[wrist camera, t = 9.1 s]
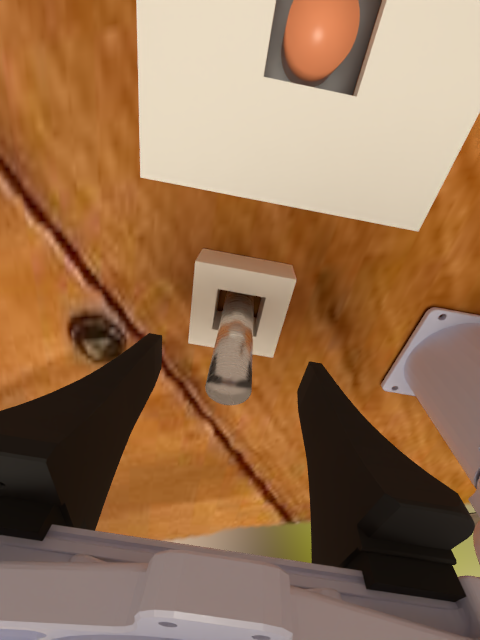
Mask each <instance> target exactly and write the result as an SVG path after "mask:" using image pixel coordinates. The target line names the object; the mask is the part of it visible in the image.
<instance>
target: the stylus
mask: <svg viewBox="0 0 480 640" xmlns="http://www.w3.org/2000/svg"><path fill="white" fill-rule="evenodd" d="M253 317H254V295H248V294H243V293H237V292H232V291H227V294H226V298H225V303H224V307H223V312H222V316H221V320H220V325H219V329H218V333H217V338H216V342H215V347H214V351H213V355H212V360H211V364H210V369H209V373H208V377H207V382H206V392H207V394H208V396H209V397H210V398H211V399H213V400H214V401H216V402H218V403H220V404H224V405H237V404H240V403H242V402H244V401H246V400H247V399H248V398H249V396H250V394H251V385H252V351H253Z"/></svg>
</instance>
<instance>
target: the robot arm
mask: <svg viewBox="0 0 480 640" xmlns="http://www.w3.org/2000/svg"><path fill="white" fill-rule="evenodd" d="M442 314H443V315H442ZM440 315H442V316H441V317H439V316H440ZM438 317H439V318H438ZM161 362H162V335H156V334H150V333H149V334H148V335H146V336H145V337H143V338H142V339H141V340H140V341H138V342H137V343H136V344H134V345H133V346H132V347H130V348H129V349H128V350H126V351H125V352H123V353H122V354H121V355H119V356H118V357H116V358H115V359H113V360H112V361H110V362H109V363H107V364H106V365H104V366H103V367H101V368H100V369H98V370H96V371H94V372H93V373H91V374H89V375H87V376H86V377H84V378H82V379H80V380H78V381H76V382H74V383H72V384H70V385H67V386H65V387H63V388H61V389H59V390H56V391H54V392H52V393H50V394H47V395H45V396H42V397H40V398H37V399H34V400H32V401H29V402H26V403H23V404H21V405H18V406H15V407H12V408H8V409H5V410H2V411H0V640H480V577H475V576H460V577H457V575H456V573H455V570H454V568H453V566H452V565H455V564H456V559H455V557H454V555H453V553H452V551H451V549H452V548H454V547H455V546H457V545H458V544H459V543H461V542H463V541H464V540H466V539H467V538H468V537H469V536H470V535H472V533H473V531H474V534H473V539H474V547H475V551H476V555H477V558H478V561H479V564H480V521H479V522H478V523H477V524H476V526H475V523H474V521H473V519H472V517H471V515H470V514H469V512H468V510H467V509H466V507H465V505H464V503H463V502H462V500H461V498H460V497H459V495H458V493H456V492H455V491H453V490H452V489H450V488H449V487H447V486H446V485H445V484H443V483H442V482H440V481H439V480H437V479H436V478H434V477H433V476H432V475H430V474H429V473H427V472H426V471H425V470H423V469H422V468H421V467H420V466H418V465H417V464H416V463H414V462H413V461H412V460H410V459H409V458H408V457H407V456H406V455H404V454H403V453H402V452H401V451H399V450H398V449H397V448H396V447H395V446H394V445H393V444H391V443H390V442H389V441H388V440H387V439H386V438H385V437H384V436H383V435H382V434H380V433H379V432H378V431H377V430H376V429H375V428H374V427H373V426H372V425H371V424H370V423H369V422H368V421H367V419H366V418H365V417H364V416H363V415H362V414H361V413H360V412H359V411H358V409H357V408H356V407H355V406H354V405H353V404H352V403H351V401H350V400H349V399H348V398H347V396H346V395H345V394H344V393H343V391H342V390H341V389H340V387H339V386H338V385H337V384H336V382H335V381H334V380H333V378H332V377H331V375H330V374H329V373H328V371H327V370H326V369H325V367H324V366H323V365H322V364H321V363H315V362H309V363H308V366H307V368H306V371H305V373H304V376H303V378H302V381H301V383H300V386H299V388H298V391H297V393H298V412H299V418H300V423H301V429H302V435H303V440H304V446H305V451H306V457H307V465H308V478H309V492H310V510H311V540H312V542H311V543H312V563H306V562H299V561H293V560H286V559H279V558H272V557H266V556H259V555H252V554H246V553H239V552H232V551H225V550H220V549H213V548H206V547H200V546H193V545H185V544H180V543H173V542H166V541H160V540H153V539H146V538H140V537H133V536H126V535H120V534H113V533H106V532H100V531H95V529H96V526H97V523H98V520H99V517H100V514H101V511H102V508H103V505H104V502H105V500H106V497H107V494H108V491H109V488H110V486H111V483H112V480H113V477H114V475H115V472H116V469H117V467H118V464H119V461H120V459H121V456H122V454H123V451H124V449H125V446H126V444H127V441H128V439H129V436H130V434H131V432H132V429H133V427H134V425H135V423H136V421H137V419H138V418H139V416H140V414H141V412H142V410H143V408H144V406H145V404H146V402H147V400H148V398H149V396H150V394H151V392H152V390H153V388H154V386H155V384H156V381H157V379H158V376H159V373H160V370H161ZM394 386H395V387H394ZM381 387H382V389H383V390H384V391H388V392H394V393H400V394H406V395H412V396H416V397H417V399H418V400H419V402H420V403H421V405H422V406H423V408H424V410H425V411H426V413H427V414H428V416H429V417H430V419H431V420H432V422H433V423H434V425H435V426H436V428H437V429H438V431H439V433H440V434H441V436H442V437H443V439H444V440H445V442H446V443H447V445H448V446H449V448H450V449H451V451H452V452H453V454H454V456H455V457H456V459H457V460H458V462H459V463H460V465H461V466H462V468H463V469H464V471H465V472H466V474H467V476H468V477H469V479H470V480H471V482H472V483H473V485H474V486H475V488H476V489H477V490H476V492H475V493H474V494H473V495H472V496H471V497H470V498H469V501H470V503H471V504H472V506H473V508H474V509H475V511H476V513H477V514H478V516H479V517H480V315H476V314H470V313H465V312H459V311H454V310H448V309H443V308H438V307H433V308H430V309H429V310H428V311H427V312H426V313H425V315H424V316H423V318H422V319H421V321H420V323H419V324H418V326H417V327H416V329H415V331H414V332H413V334H412V335H411V337H410V339H409V340H408V342H407V343H406V345H405V347H404V348H403V350H402V351H401V353H400V355H399V356H398V358H397V359H396V361H395V363H394V364H393V366H392V367H391V369H390V371H389V372H388V374H387V375H386V377H385V379H384V380H383V382H382V384H381Z"/></svg>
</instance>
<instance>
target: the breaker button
mask: <svg viewBox="0 0 480 640" xmlns="http://www.w3.org/2000/svg"><path fill="white" fill-rule="evenodd" d="M380 3H381V0H276V5H275V11H274V18H273V24H272V30H271V36H270V42H269V48H268V54H267V60H266V66H265V72H264V77H267V78H272V79H277V80H281V81H286V82H291V83H295V84H300V85H305V86H309V87H314V88H319V89H324V90H328V91H333V92H338V93H342V94H347V95H353V92H354V89H355V85H356V82H357V79H358V76H359V72H360V69H361V66H362V62H363V59H364V56H365V53H366V49H367V46H368V43H369V39H370V36H371V33H372V30H373V26H374V23H375V20H376V16H377V13H378V10H379V7H380Z"/></svg>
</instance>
